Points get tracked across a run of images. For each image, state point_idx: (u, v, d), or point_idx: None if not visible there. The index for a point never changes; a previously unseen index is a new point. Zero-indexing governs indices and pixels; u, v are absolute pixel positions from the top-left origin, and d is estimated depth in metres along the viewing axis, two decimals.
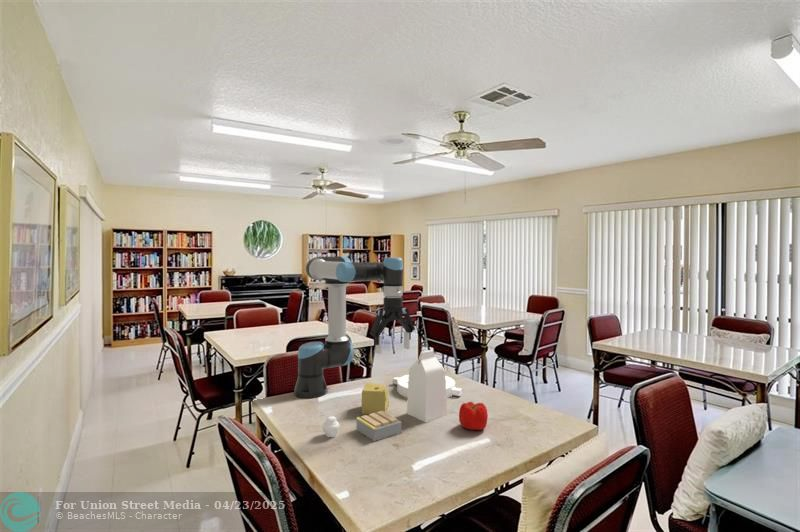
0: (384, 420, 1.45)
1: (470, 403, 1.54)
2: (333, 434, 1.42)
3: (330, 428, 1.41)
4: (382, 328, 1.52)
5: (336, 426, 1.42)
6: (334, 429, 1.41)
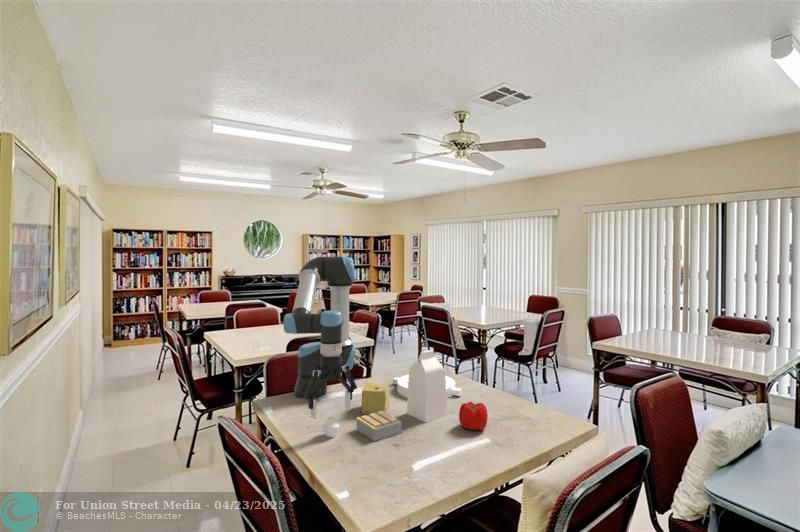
0: (384, 420, 1.45)
1: (470, 403, 1.54)
2: (333, 434, 1.42)
3: (330, 428, 1.41)
4: (317, 390, 1.39)
5: (336, 426, 1.42)
6: (334, 429, 1.41)
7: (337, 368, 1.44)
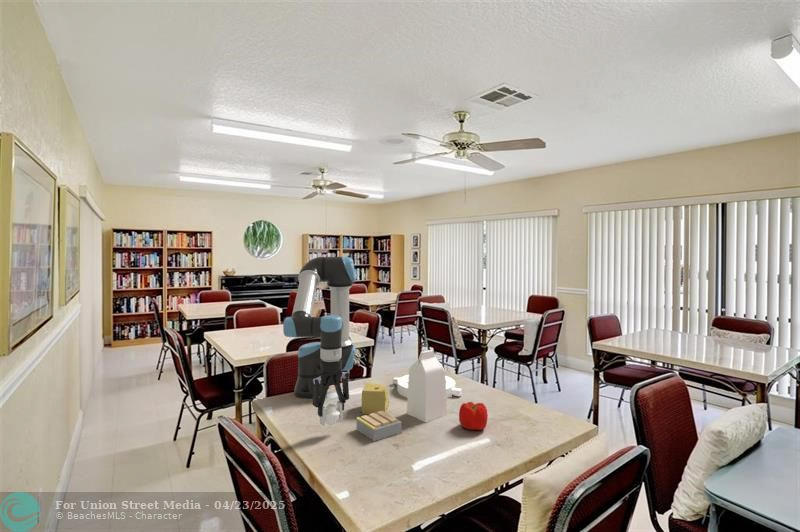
0: (384, 420, 1.45)
1: (470, 403, 1.54)
2: (333, 421, 1.43)
3: (330, 415, 1.41)
4: (323, 397, 1.41)
5: (336, 413, 1.43)
6: (334, 416, 1.42)
7: (338, 371, 1.44)
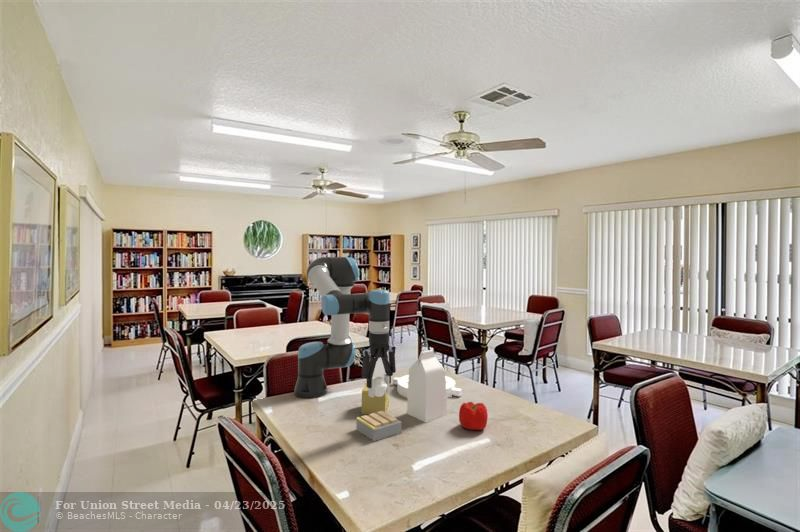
0: (384, 420, 1.45)
1: (470, 403, 1.54)
2: (382, 393, 1.46)
3: (379, 387, 1.44)
4: (372, 369, 1.44)
5: (384, 385, 1.46)
6: (383, 388, 1.45)
7: (385, 344, 1.48)
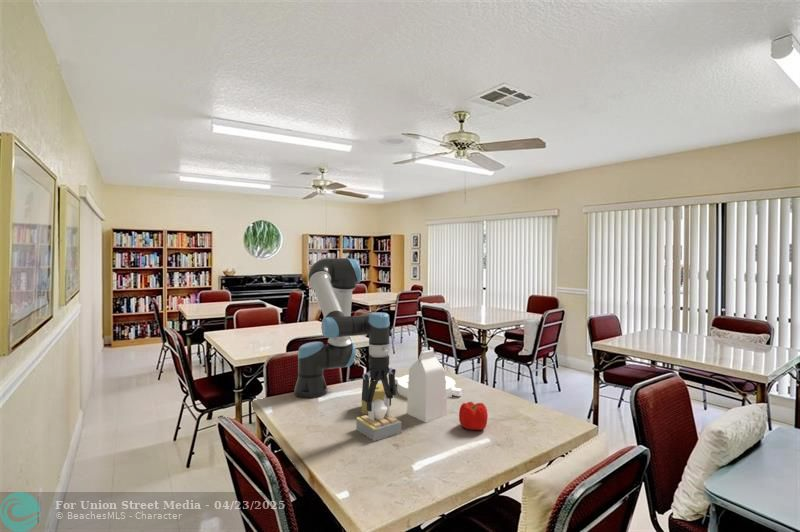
0: (384, 420, 1.45)
1: (470, 403, 1.54)
2: (382, 416, 1.46)
3: (379, 410, 1.45)
4: (372, 392, 1.44)
5: (385, 408, 1.46)
6: (383, 411, 1.45)
7: (385, 367, 1.48)
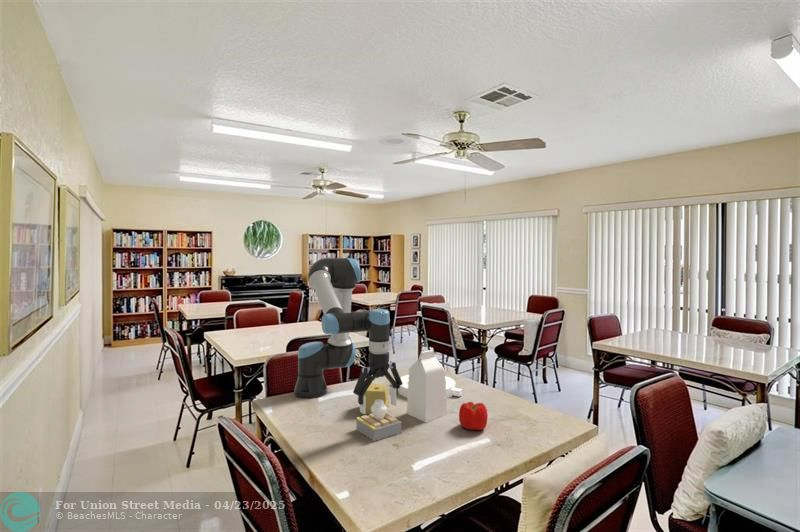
0: (384, 420, 1.45)
1: (470, 403, 1.54)
2: (382, 416, 1.46)
3: (379, 410, 1.45)
4: (367, 386, 1.43)
5: (385, 408, 1.46)
6: (383, 411, 1.45)
7: (385, 365, 1.48)
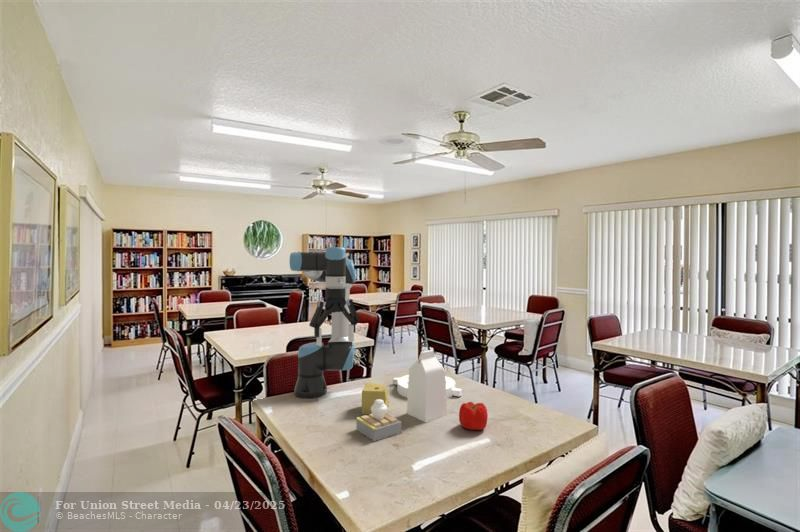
0: (384, 420, 1.45)
1: (470, 403, 1.54)
2: (382, 416, 1.46)
3: (379, 410, 1.45)
4: (322, 320, 1.47)
5: (385, 408, 1.46)
6: (383, 411, 1.45)
7: (341, 301, 1.52)
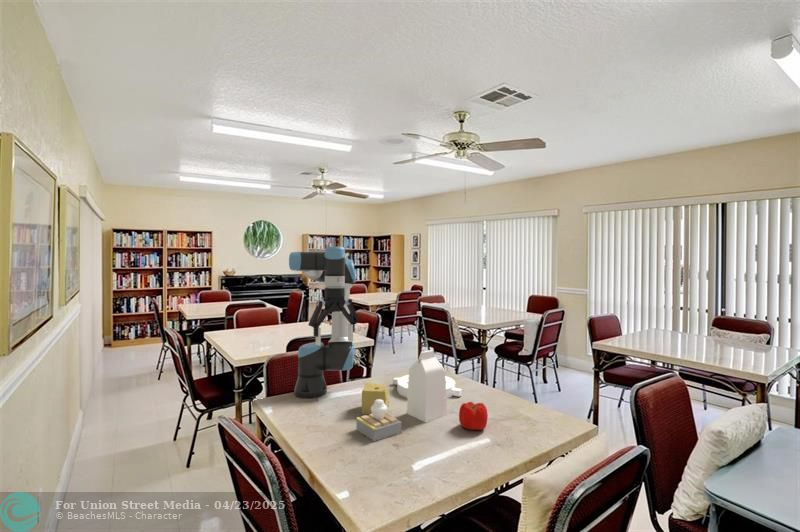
0: (384, 420, 1.45)
1: (470, 403, 1.54)
2: (382, 416, 1.46)
3: (379, 410, 1.45)
4: (322, 319, 1.47)
5: (385, 408, 1.46)
6: (383, 411, 1.45)
7: (340, 300, 1.52)
